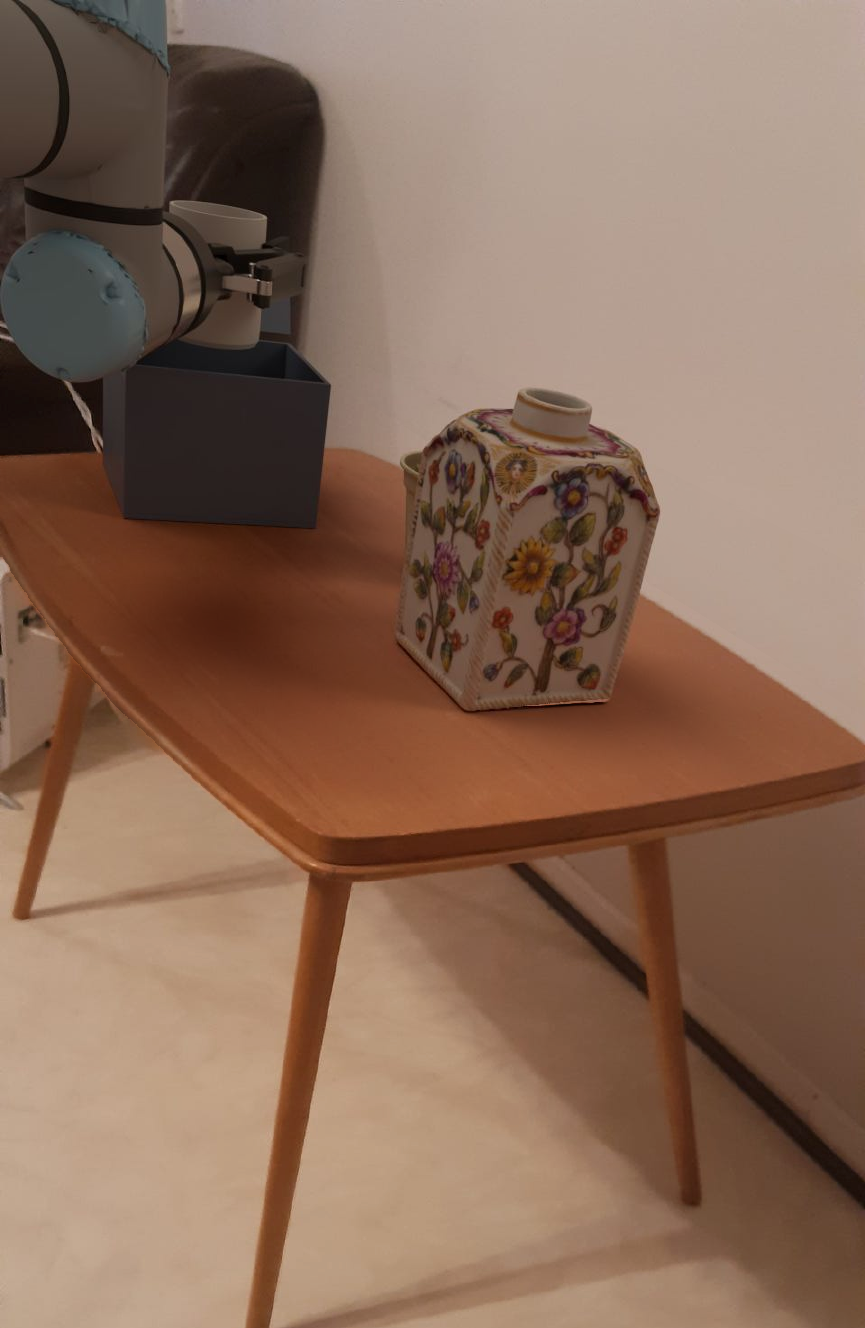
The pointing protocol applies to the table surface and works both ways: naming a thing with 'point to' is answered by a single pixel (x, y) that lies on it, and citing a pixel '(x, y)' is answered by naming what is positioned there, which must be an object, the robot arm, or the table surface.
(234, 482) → the carton
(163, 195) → the robot arm
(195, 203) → the cup
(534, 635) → the decorative jar
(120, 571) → the table surface
